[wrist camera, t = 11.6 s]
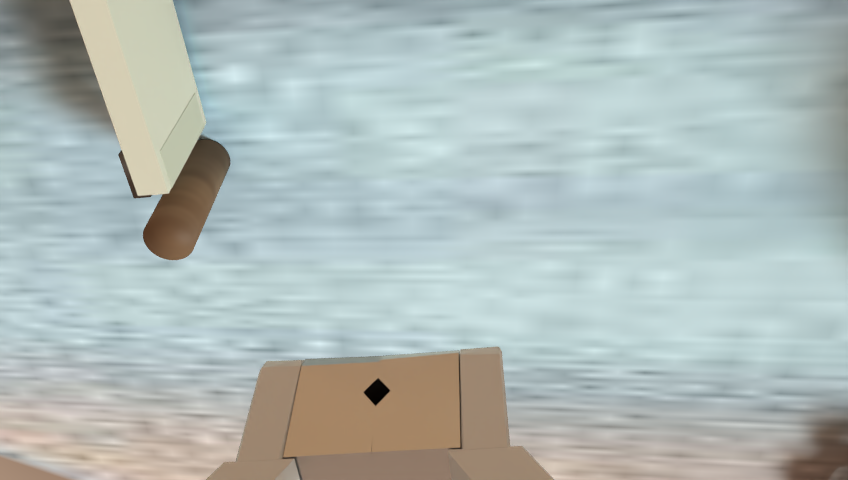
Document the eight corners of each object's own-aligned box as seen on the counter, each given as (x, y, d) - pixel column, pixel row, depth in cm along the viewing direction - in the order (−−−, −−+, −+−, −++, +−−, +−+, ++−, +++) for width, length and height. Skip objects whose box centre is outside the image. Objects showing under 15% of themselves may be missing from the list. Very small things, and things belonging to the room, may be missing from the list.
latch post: (154, 101, 36) (103, 176, 30) (213, 96, 35) (172, 170, 30) (179, 180, 38) (135, 262, 33) (234, 175, 38) (200, 258, 32)
